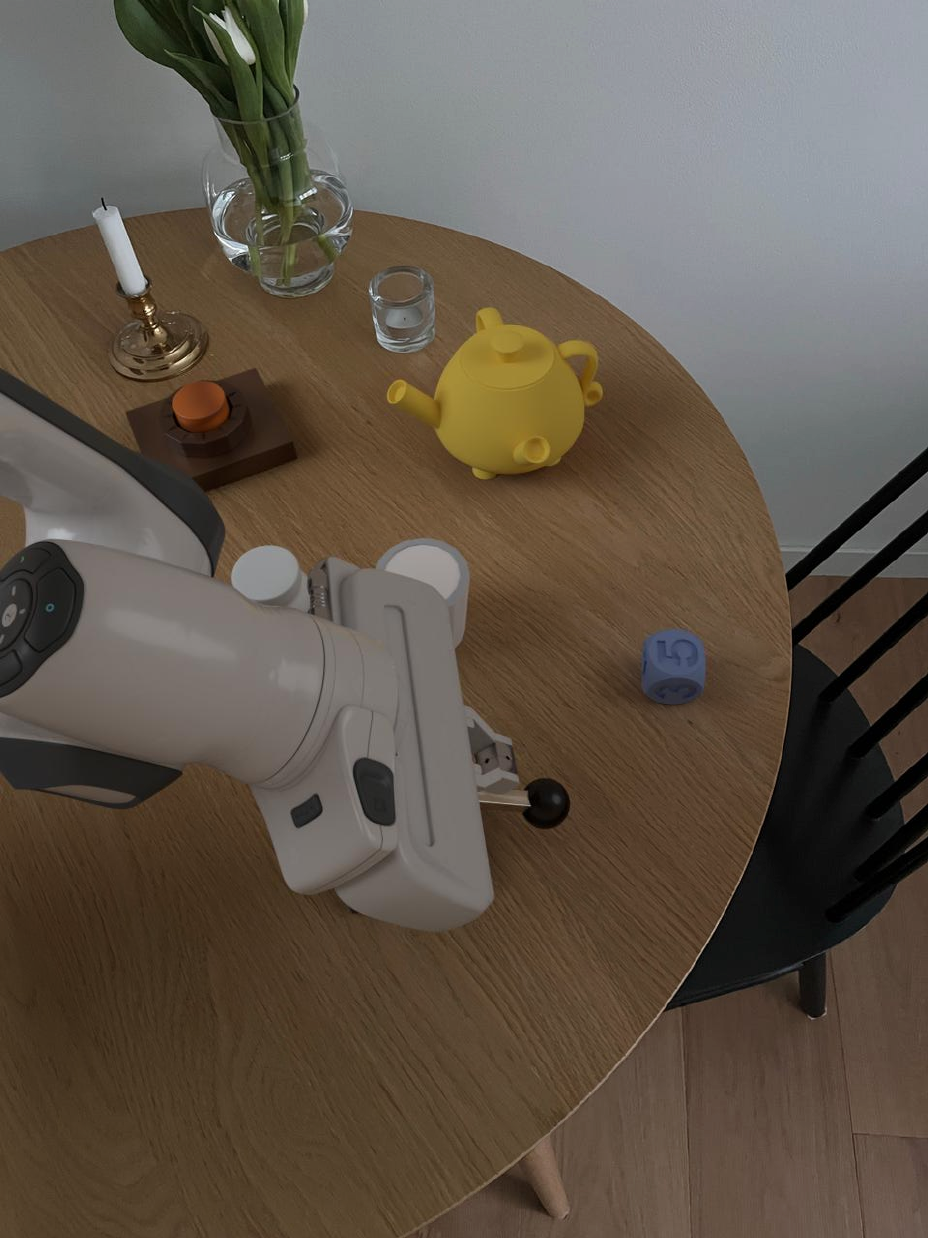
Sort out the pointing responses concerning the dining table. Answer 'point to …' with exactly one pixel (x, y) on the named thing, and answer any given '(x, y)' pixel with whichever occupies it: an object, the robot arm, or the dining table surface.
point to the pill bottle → (271, 578)
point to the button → (201, 407)
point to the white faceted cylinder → (434, 574)
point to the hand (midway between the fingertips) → (508, 767)
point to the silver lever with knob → (532, 802)
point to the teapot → (506, 398)
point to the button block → (218, 435)
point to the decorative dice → (673, 666)
